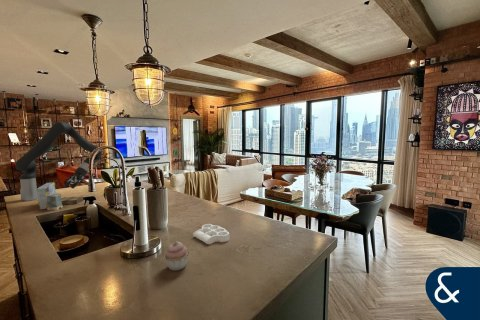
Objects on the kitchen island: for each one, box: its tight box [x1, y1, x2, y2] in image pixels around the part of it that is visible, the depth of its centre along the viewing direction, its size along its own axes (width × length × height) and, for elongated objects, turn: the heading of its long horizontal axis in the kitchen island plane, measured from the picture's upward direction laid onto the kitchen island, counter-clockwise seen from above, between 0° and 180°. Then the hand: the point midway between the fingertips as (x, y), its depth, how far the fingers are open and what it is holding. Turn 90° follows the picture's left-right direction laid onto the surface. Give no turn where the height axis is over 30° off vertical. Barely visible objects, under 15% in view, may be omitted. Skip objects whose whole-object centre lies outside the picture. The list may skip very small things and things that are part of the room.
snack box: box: [36, 182, 57, 211], centre depth 171 cm, size 21×6×15 cm, turn 25°
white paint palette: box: [192, 223, 230, 245], centre depth 114 cm, size 3×18×15 cm
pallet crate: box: [46, 193, 64, 211], centre depth 162 cm, size 6×6×10 cm
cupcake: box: [163, 241, 190, 272], centre depth 88 cm, size 9×9×10 cm
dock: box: [61, 196, 84, 206], centre depth 178 cm, size 14×10×3 cm
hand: (68, 187), depth 170 cm, fingers open, 8 cm apart
